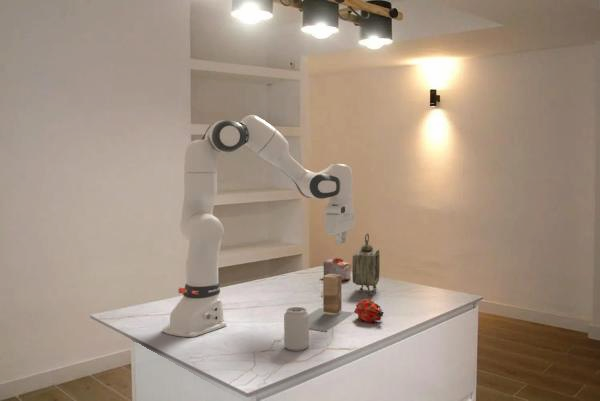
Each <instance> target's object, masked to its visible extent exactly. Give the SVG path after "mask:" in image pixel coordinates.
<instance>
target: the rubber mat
mask: <svg viewBox="0 0 600 401" xmlns="http://www.w3.org/2000/svg"><path fill="white" fill-rule="evenodd" d="M308 314H309V331H315V332H320V333H328V332H329V331H330V330H331V329H332V328H334V327H335V326H337V325H338V324H340V323H342V322H343V321H344V320H346V319H347V318H349V317H351V316H352V315H354V311H353V312H352V311H346V310H345V311H343V310H342V312H341V313H339V314H338V315H336V316H335V315H328V314H323V308H321V307H319V308H318V309H315V311H313V312H311V313H308Z"/></svg>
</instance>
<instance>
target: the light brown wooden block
mask: <svg viewBox="0 0 600 401" xmlns="http://www.w3.org/2000/svg"><path fill="white" fill-rule="evenodd" d="M322 283H323V285H322V291H323V294H322V295H323V297H322V298H323V300H322V301H323V304H322V305H323V314H328V315H335V316H336V315H338V314H339V313H341V312H342V311H343V310H342V308H343V307H342V296H343V294H342V281H341V275H338V274H327V275H325V276H324V275H323V277H322Z"/></svg>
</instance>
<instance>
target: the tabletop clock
mask: <svg viewBox="0 0 600 401" xmlns="http://www.w3.org/2000/svg"><path fill="white" fill-rule="evenodd" d="M369 240H370V235H369V233H366V234H365V236H364V244H362V246H361V247H360V249H358V250H356V251H355V252H354V253H353V254H352V263H351V274H352V283H353V284H355V285H357V286H361V287H360V288H359V291H360V293H361V292H363V291H364V286H365V287H366V288H367V291H368V293H367V294H368V296H371V295H373V293H372V291H371V290H370V287H372V289H373V290H376V289H377V285H378V283H379V281H380V268H381V267H380V264H381V262H380V258H381V257H380V250H379V249H374V248H373V246H372V245H371V244H369Z"/></svg>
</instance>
